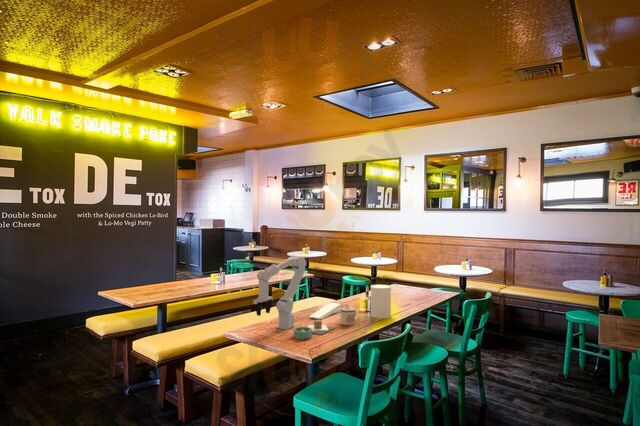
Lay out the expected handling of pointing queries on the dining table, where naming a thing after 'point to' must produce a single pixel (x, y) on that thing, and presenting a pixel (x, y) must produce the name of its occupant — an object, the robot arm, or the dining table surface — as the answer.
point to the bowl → (302, 332)
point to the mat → (324, 331)
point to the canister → (380, 301)
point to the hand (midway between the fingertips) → (263, 314)
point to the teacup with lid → (347, 315)
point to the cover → (318, 326)
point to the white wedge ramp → (326, 311)
